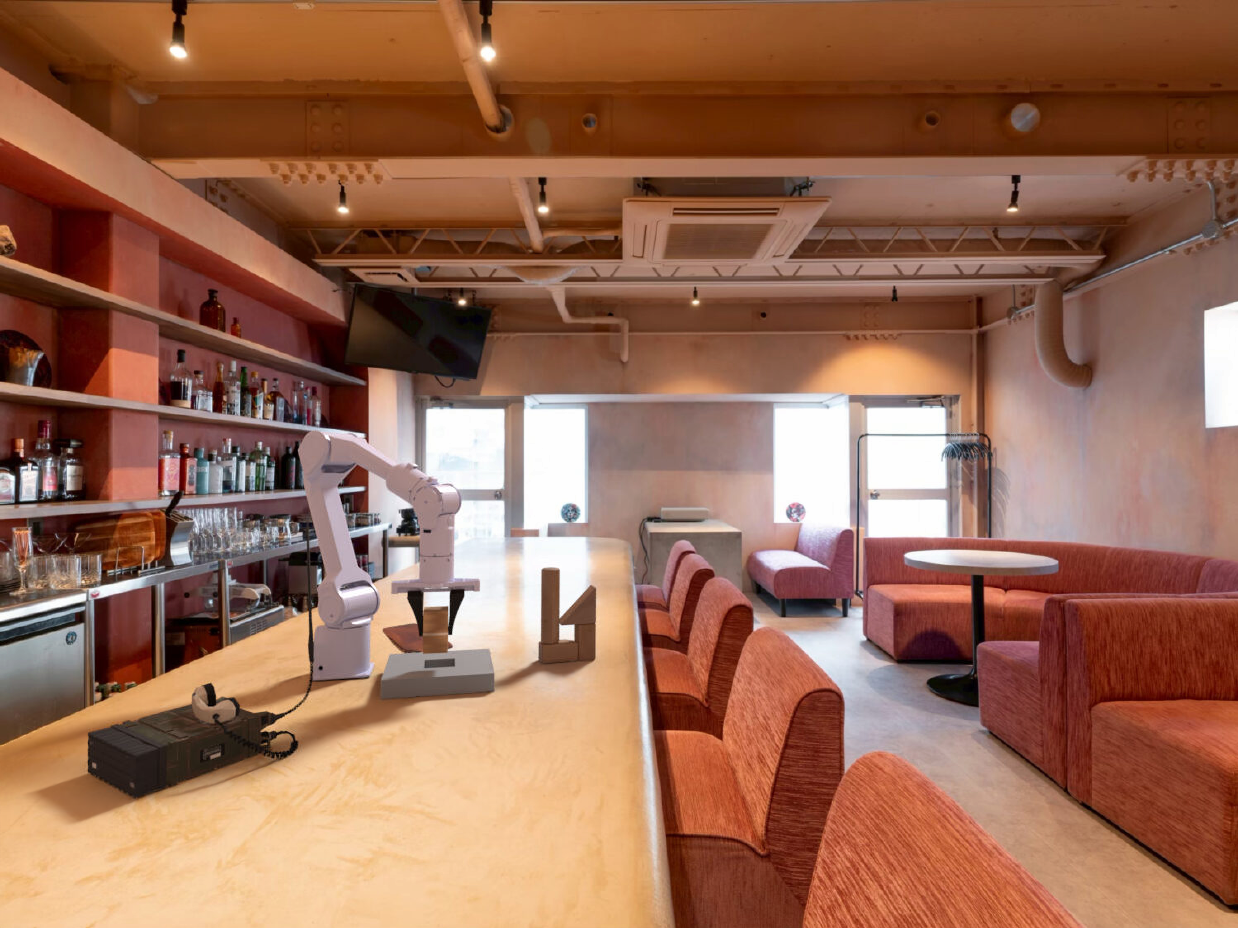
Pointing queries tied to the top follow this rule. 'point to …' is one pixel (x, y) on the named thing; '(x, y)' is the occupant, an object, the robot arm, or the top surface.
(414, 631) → the wooden tablet
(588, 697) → the top surface
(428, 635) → the oak peg
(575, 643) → the wooden block
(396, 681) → the slate board
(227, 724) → the radio
